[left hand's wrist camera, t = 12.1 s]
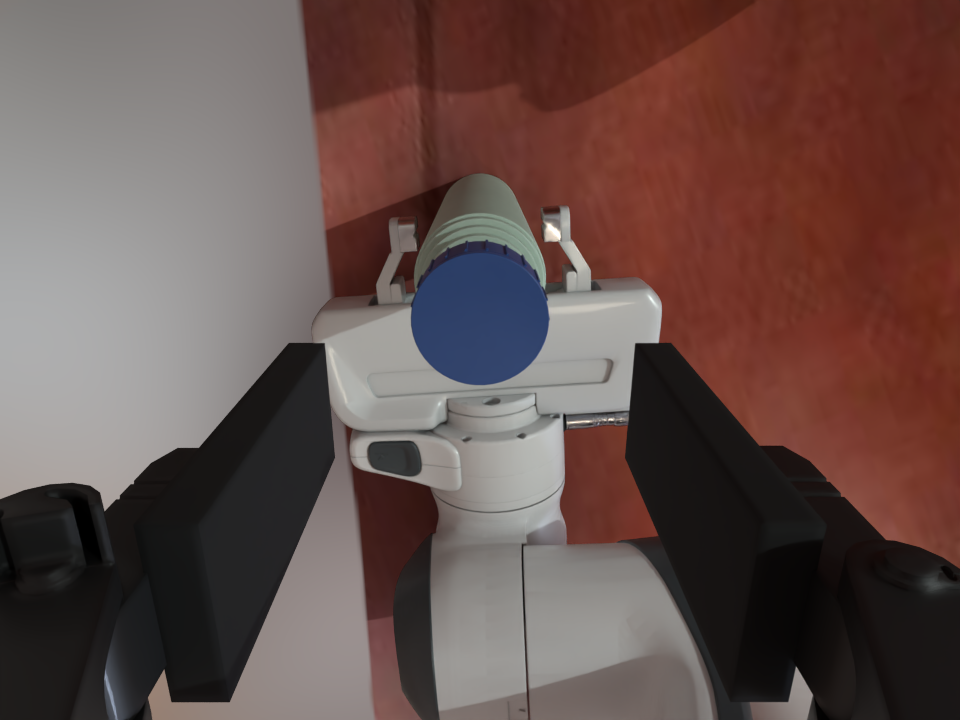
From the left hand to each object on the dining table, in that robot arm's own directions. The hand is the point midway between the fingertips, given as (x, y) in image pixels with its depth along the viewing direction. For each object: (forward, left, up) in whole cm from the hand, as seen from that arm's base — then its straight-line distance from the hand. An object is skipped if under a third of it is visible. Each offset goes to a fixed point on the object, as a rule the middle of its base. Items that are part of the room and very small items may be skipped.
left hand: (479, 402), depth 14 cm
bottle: (0, 0, -30) cm, 30 cm away
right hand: (-1, 0, -24) cm, 24 cm away
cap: (0, 0, -6) cm, 6 cm away
